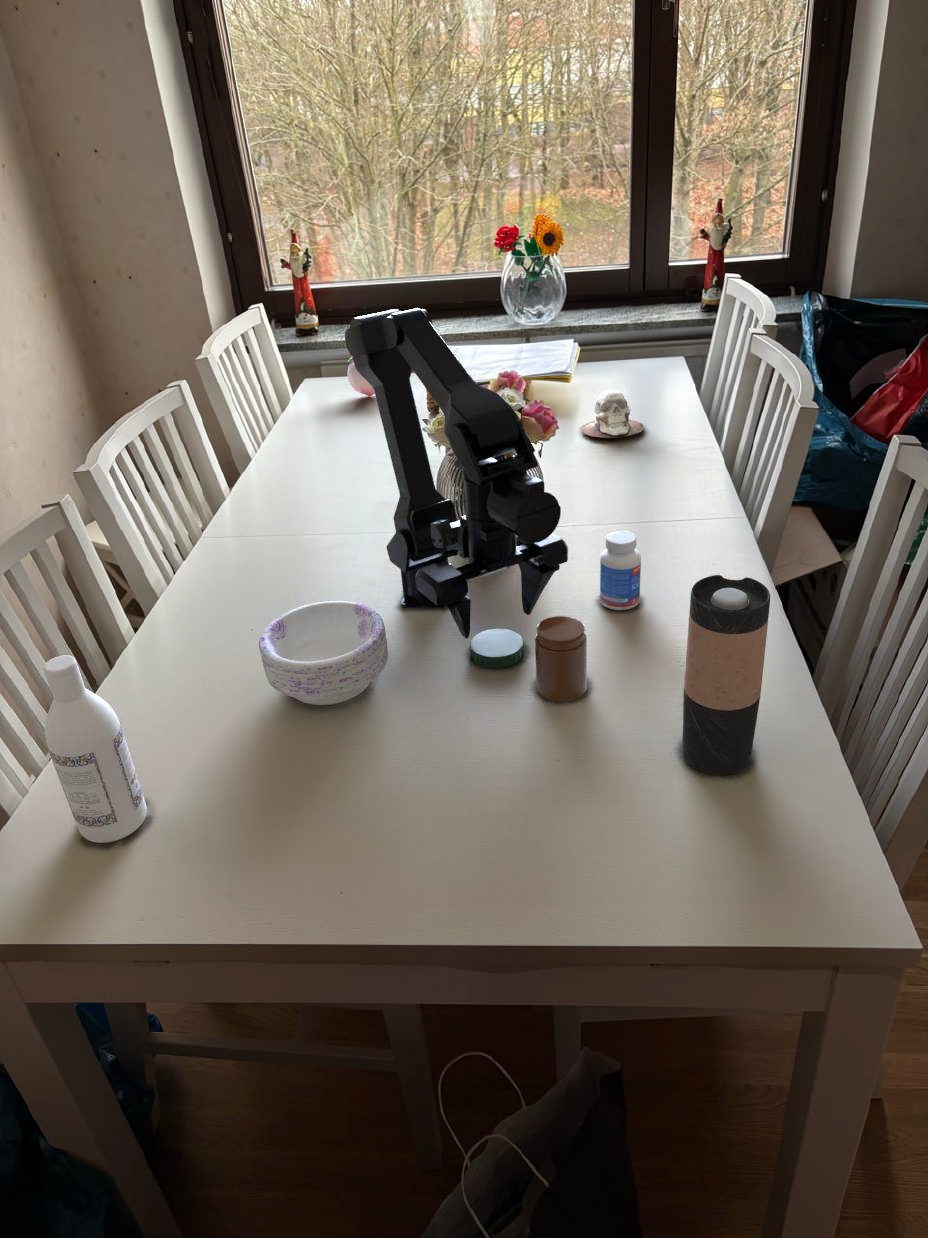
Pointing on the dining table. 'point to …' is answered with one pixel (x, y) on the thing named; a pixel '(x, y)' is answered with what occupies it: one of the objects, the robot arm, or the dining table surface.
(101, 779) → the bath foam
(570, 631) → the honey jar
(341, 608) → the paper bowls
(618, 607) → the pill bottle
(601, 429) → the skull
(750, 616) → the travel mug
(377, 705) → the dining table surface
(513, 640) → the jar lid
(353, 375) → the decorative fruit
